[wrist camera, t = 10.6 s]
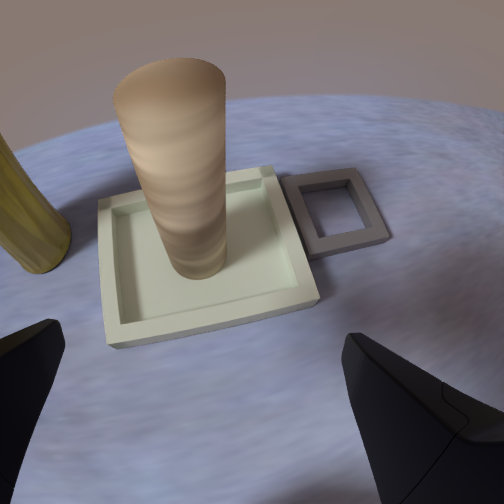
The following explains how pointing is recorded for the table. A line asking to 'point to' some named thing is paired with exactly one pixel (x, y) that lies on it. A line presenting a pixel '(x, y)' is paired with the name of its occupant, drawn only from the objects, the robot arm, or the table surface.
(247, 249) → the tray
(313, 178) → the holder
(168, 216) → the dowel
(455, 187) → the table surface
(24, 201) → the vase
